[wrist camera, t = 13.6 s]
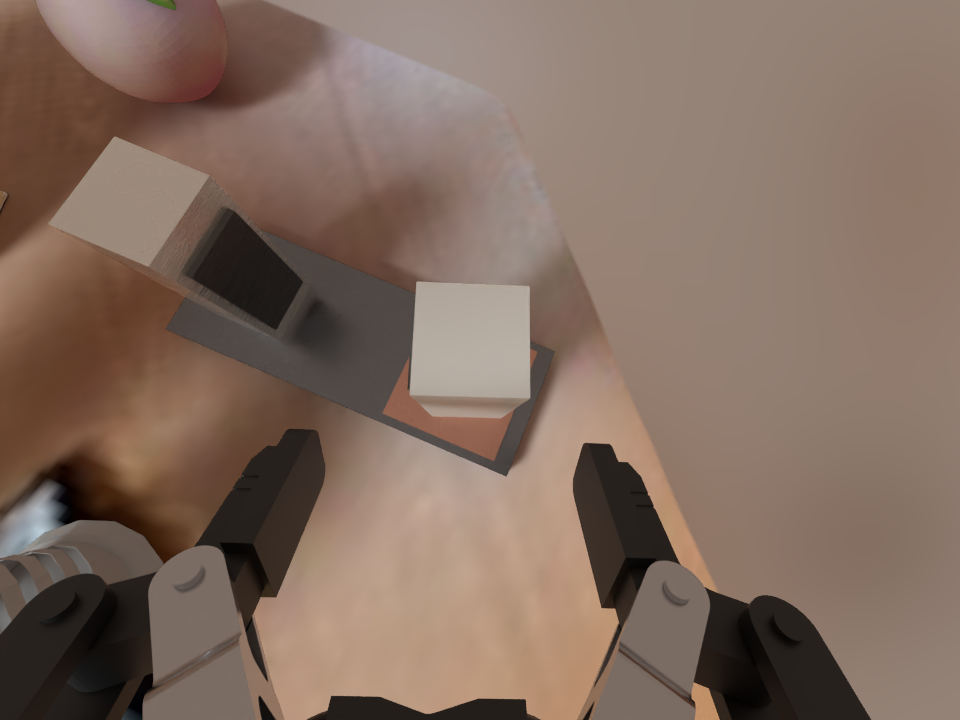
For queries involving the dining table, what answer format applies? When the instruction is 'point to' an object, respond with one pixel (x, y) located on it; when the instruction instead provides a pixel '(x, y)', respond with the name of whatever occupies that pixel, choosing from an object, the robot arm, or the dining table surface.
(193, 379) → the dining table surface
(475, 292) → the block
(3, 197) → the coffeecake box
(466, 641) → the dining table surface
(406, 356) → the grey stand
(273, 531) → the robot arm
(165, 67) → the decorative fruit
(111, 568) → the french press
